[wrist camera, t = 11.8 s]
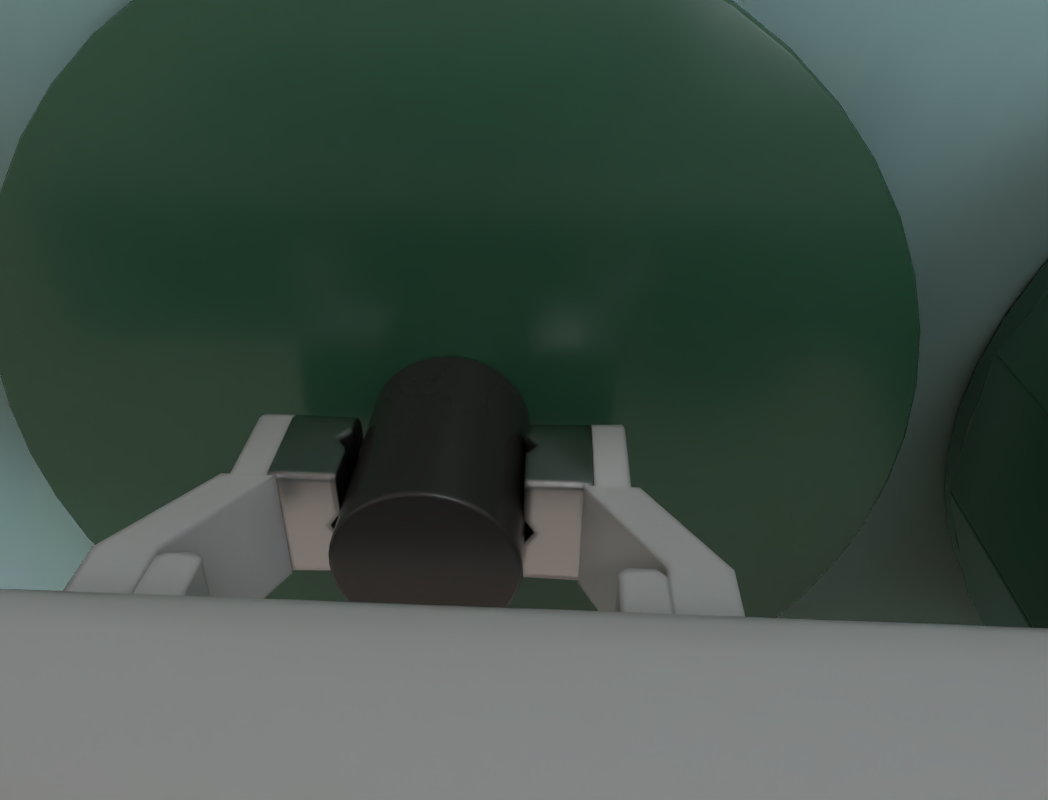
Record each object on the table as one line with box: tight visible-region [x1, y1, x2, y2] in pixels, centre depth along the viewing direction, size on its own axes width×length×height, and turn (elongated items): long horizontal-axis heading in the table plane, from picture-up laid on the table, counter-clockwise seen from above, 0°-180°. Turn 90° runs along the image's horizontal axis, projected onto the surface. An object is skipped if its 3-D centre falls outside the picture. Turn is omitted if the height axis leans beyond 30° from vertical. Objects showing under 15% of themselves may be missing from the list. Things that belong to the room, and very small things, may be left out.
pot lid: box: [0, 0, 920, 618], centre depth 14 cm, size 15×15×5 cm
